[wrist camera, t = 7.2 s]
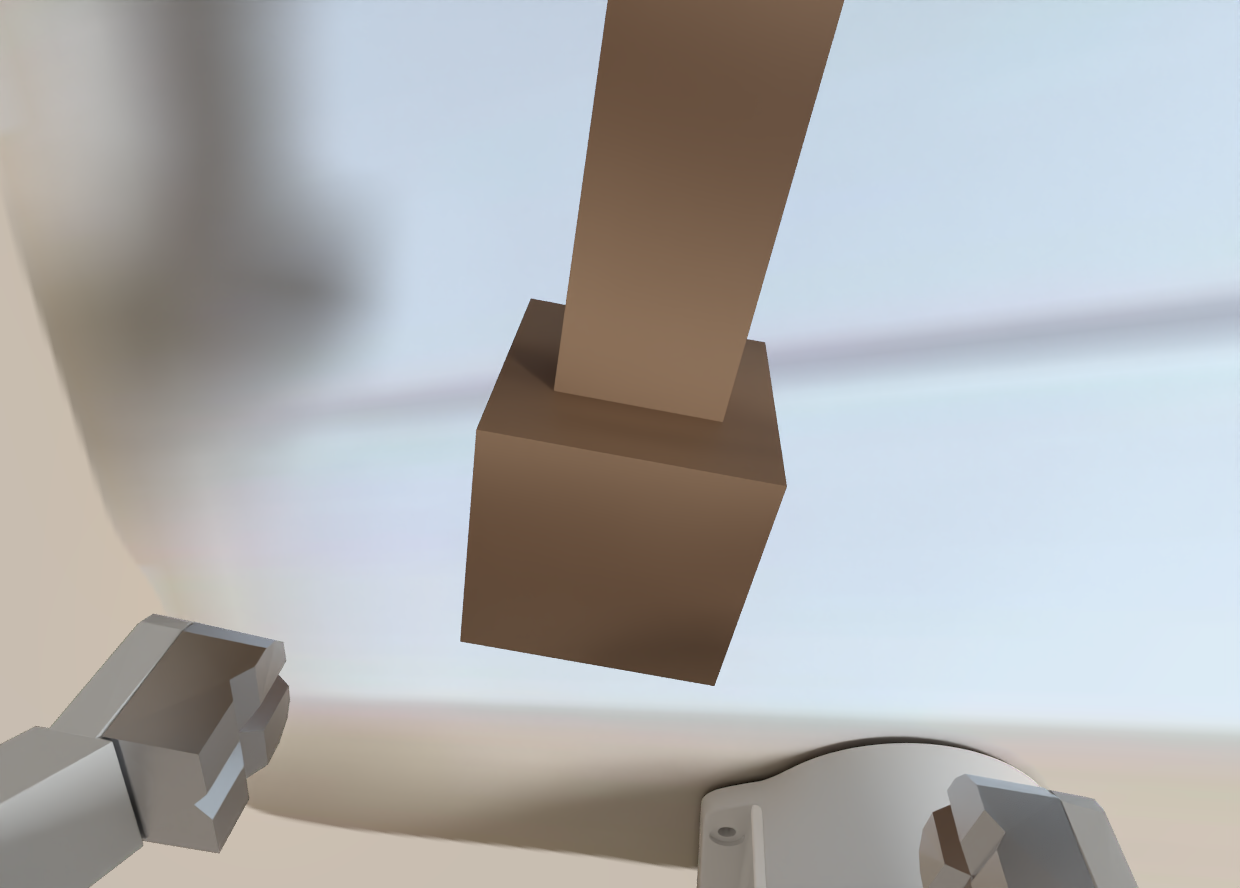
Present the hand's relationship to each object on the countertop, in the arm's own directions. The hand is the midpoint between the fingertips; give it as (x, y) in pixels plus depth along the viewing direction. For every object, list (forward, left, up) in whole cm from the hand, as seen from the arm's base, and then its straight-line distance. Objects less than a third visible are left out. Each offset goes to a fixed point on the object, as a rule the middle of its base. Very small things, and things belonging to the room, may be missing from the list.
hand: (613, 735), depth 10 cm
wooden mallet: (+4, 0, -6) cm, 7 cm away
